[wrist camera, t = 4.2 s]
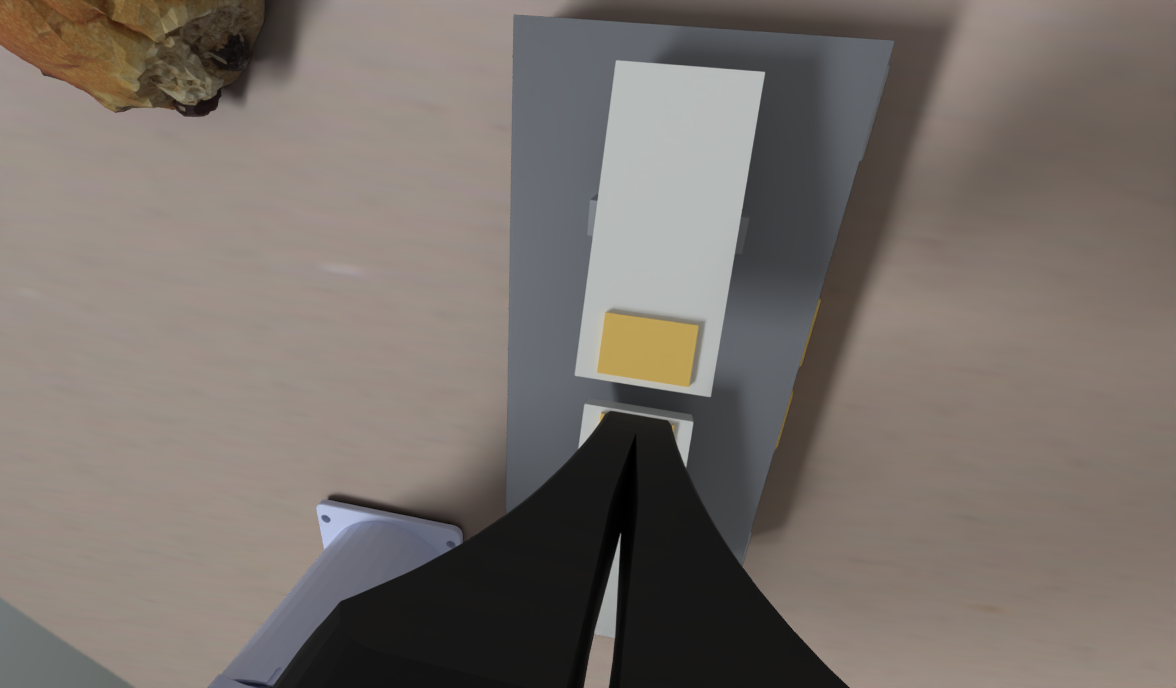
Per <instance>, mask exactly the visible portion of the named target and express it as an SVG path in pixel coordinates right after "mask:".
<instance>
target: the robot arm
mask: <svg viewBox="0 0 1176 688" xmlns="http://www.w3.org/2000/svg"><path fill="white" fill-rule="evenodd" d="M317 514H318V520H319V525H320V530H321V535H322V540H323V545H324V551H323V552H322V553H321V555H320V556H319V557H318V558H317V559H316V561H315V562H314V563H313V564H312V565H311V567H310V568H309V569H308V570H307V571H306V573H305V574H304V575H303V576H302V577H301V579H300V580H299V581H298V582H297V583H296V585H295V586H294V587H293V588H292V589H291V591H290V592H289V593H288V594H287V595H286V597H285V598H284V599H283V600H282V602H281V603H280V604H279V605H278V606H277V608H276V609H275V610H274V611H273V612H272V614H271V615H270V616H269V617H268V618H267V620H266V621H265V622H264V623H263V624H262V626H261V627H260V628H259V629H258V630H257V632H256V633H255V634H254V635H253V636H252V638H251V639H250V640H249V641H248V642H247V644H246V645H245V646H244V647H243V648H242V650H241V651H240V652H239V653H238V654H237V656H236V657H235V658H234V659H233V660H232V662H231V663H230V664H229V665H228V666H227V668H226V669H225V670H224V671H223V673H222V674H220V675H218V676H217V677H216V678H215V679H214V681H213V682H212V683H211V684H210V685H209V686H208V688H584V682H585V677H586V671H587V665H588V660H589V654H590V650H591V645H592V641H593V636H594V632H595V628H596V624H597V620H598V617H599V613H600V609H601V605H602V602H603V598H604V594H605V590H606V587H607V583H608V579H609V575H610V572H611V568H612V564H613V560H614V557H615V553H616V549H617V545H618V541H619V538H620V555H619V573H618V592H617V610H616V629H615V642H614V653H613V662H612V669H611V677H610V684H609V688H849V687H848V686H847V685H846V684H845V683H844V682H843V681H842V680H841V679H840V678H839V677H838V676H837V675H836V674H835V673H834V672H833V671H831V670H830V669H829V668H828V667H827V666H826V665H825V664H824V663H823V661H822V660H821V659H820V658H819V657H818V656H817V655H816V654H815V653H814V652H813V651H812V650H811V649H810V648H809V647H808V646H807V644H806V643H805V642H804V641H803V640H802V639H801V638H800V637H799V636H798V635H797V634H796V633H795V632H794V631H793V629H792V628H791V627H790V626H789V625H788V624H787V622H786V621H785V620H784V619H783V618H782V616H781V615H780V614H779V613H778V612H777V610H776V609H775V608H774V607H773V606H772V604H771V603H770V602H769V601H768V600H767V598H766V597H765V596H764V595H763V594H762V592H761V591H760V590H759V589H758V587H757V586H756V585H755V583H754V582H753V581H752V579H751V578H750V577H749V575H748V574H747V572H746V571H745V570H744V568H743V567H742V566H741V564H740V563H739V561H738V560H737V558H736V557H735V556H734V554H733V553H732V551H731V550H730V548H729V547H728V545H727V544H726V542H725V540H724V539H723V537H722V536H721V534H720V532H719V531H718V529H717V527H716V526H715V524H714V522H713V521H712V519H711V517H710V515H709V513H708V512H707V510H706V508H705V506H704V504H703V503H702V501H701V499H700V497H699V495H698V493H697V491H696V489H695V486H694V484H693V482H692V480H691V478H690V476H689V474H688V471H687V469H686V467H685V464H684V462H683V460H682V457H681V454H680V452H679V449H678V446H677V443H676V440H675V437H674V433H673V429H672V425H671V424H670V423H669V421H668V420H663V419H657V418H651V417H646V416H640V415H634V414H628V413H622V412H616V411H609V412H608V413H606V414H605V415H604V417H603V418H602V420H601V421H600V423H599V424H598V426H597V427H596V429H595V430H594V431H593V432H592V434H591V435H590V436H589V437H588V439H587V440H586V441H585V442H584V443H583V445H582V446H581V447H580V448H579V449H578V450H577V451H576V452H575V453H574V454H573V455H572V457H571V458H570V459H569V460H568V461H567V462H566V463H565V464H564V465H563V466H562V467H561V468H560V469H559V470H558V471H557V472H556V473H555V474H554V475H553V476H551V477H550V478H549V479H548V480H547V481H546V482H545V483H544V484H543V485H542V486H541V487H540V488H538V489H537V490H536V491H535V492H534V493H533V494H531V495H530V496H529V497H528V498H527V499H525V500H524V501H523V502H522V503H520V504H519V505H518V506H516V507H515V508H514V509H512V510H511V511H510V512H508V513H507V514H506V515H504V516H503V517H501V518H500V519H498V520H497V521H496V522H494V523H493V524H491V525H490V526H488V527H487V528H485V529H484V530H482V531H481V532H479V533H478V534H476V535H475V536H473V537H471V538H470V539H468V540H467V541H465V542H463V534H462V531H461V530H460V528H458V527H457V526H454V525H450V524H445V523H440V522H435V521H430V520H425V519H420V518H416V517H411V516H406V515H401V514H396V513H391V512H386V511H381V510H376V509H371V508H366V507H361V506H356V505H351V504H346V503H341V502H336V501H331V500H322V501H321V502H320V503H319V504H318V505H317ZM620 534H621V537H620Z"/></svg>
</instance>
